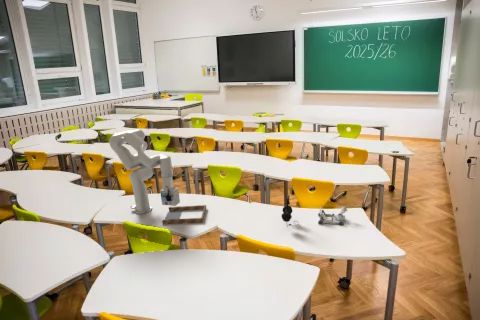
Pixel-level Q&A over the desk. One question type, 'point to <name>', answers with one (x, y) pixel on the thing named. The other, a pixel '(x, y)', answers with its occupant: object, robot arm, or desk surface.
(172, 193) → the light bulb box
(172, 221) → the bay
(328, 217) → the toy car
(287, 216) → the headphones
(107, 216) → the desk surface
